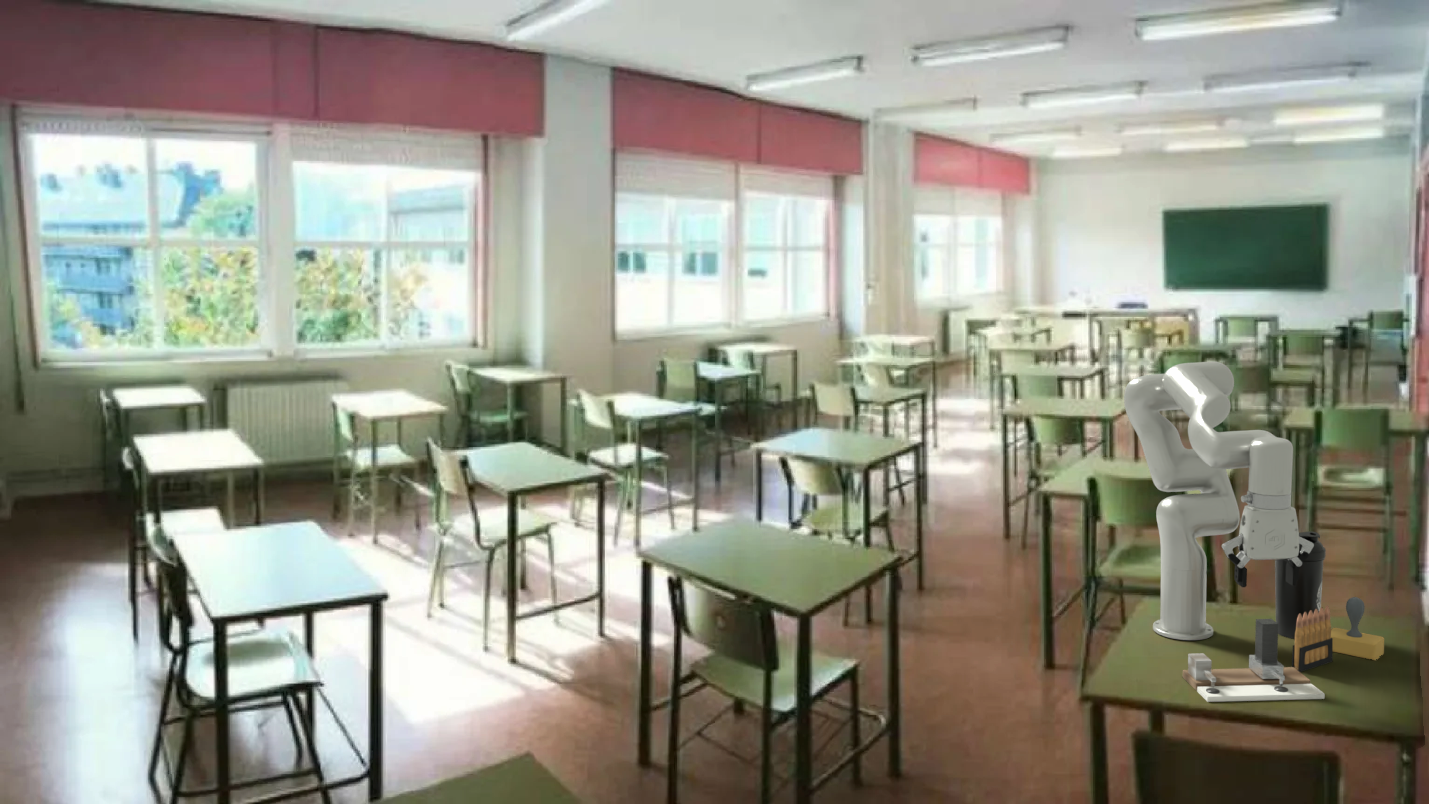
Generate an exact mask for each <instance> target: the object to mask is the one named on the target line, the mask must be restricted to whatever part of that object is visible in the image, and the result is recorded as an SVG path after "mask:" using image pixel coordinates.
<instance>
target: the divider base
mask: <svg viewBox="0 0 1429 804" xmlns="http://www.w3.org/2000/svg"><path fill="white" fill-rule="evenodd" d="M1187 656H1188V657H1187V666H1188V667H1187V669H1183V670H1182V678H1183V679H1184V680H1185V681H1186V682H1187V683H1188V684H1189V685H1190V686H1191V687H1192V688H1193V689H1194V690H1195V691H1196V692H1197V687H1205V686H1211V687H1212V688H1214V687H1215V686H1243V685H1279V683H1280V680H1279V679H1262V678H1261V677H1259V676H1258V675H1257V674H1256V673H1255V672H1253V671H1252V670H1251V669H1250V668H1249V667H1245V668H1213V669H1212V660H1211V659H1210V657H1208V656H1207V655H1206V654H1205V653H1203V652H1202V653H1201V652H1200V653H1198V652H1197V653H1188V654H1187ZM1283 675H1284V676H1285V680H1283V684H1311V679H1309V678H1308V677H1307V676H1305V675H1304V674H1303V673H1302V672H1299V671H1298V670H1296V669H1295V668H1294V667H1292V666H1287V667H1286V666H1283Z"/></svg>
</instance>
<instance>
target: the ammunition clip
mask: <svg viewBox="0 0 1429 804" xmlns="http://www.w3.org/2000/svg"><path fill="white" fill-rule="evenodd" d="M1331 629H1332V624H1331V611H1330V608H1329V605H1326V606H1325V608H1323V607H1322V606H1321V607H1320V611H1319V613H1318V610H1317V609H1315V611H1314V614H1313V613H1312V611H1311V610H1310V612H1309V614H1308V616H1307V613H1306V612H1304V614H1303V618H1302V616H1301V614H1300V613H1299V615H1298V618H1297V623H1296V631H1295V639H1294V644H1293V645H1292V654H1291V655H1292V657H1291V667H1294V668H1295V669H1296V670H1298V671H1299V672H1300V673H1302V672H1305V671H1308V670H1311V669H1314V668H1317V667H1319V666H1323V665H1327V664H1328V663H1332V662H1333V661H1334V660H1333V656H1334V655H1333V653H1334V652H1333V638H1331Z"/></svg>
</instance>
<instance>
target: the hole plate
mask: <svg viewBox="0 0 1429 804" xmlns="http://www.w3.org/2000/svg"><path fill="white" fill-rule="evenodd" d="M1196 692H1197V693H1198V694H1199V695H1200V696H1201V697H1202V698H1203V699H1204V700H1205V701H1206V702H1207V703H1209V702H1210V703H1211V702H1212V703H1213V702H1214V703H1215V702H1247V701H1248V702H1251V701H1252V702H1253V701H1257V702H1258V701H1284V700H1285V701H1286V700H1287V701H1290V700H1322V699H1323V700H1324V699H1325V697H1326V696H1325V693H1324V692H1323V691H1322V690H1321V689H1320V688H1318V687H1316V686H1315V685H1314V684H1313V683H1310V684H1283V686H1280V685H1243V686H1215V687H1214V688H1212V687H1211V686H1205V687H1197V691H1196Z"/></svg>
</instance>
